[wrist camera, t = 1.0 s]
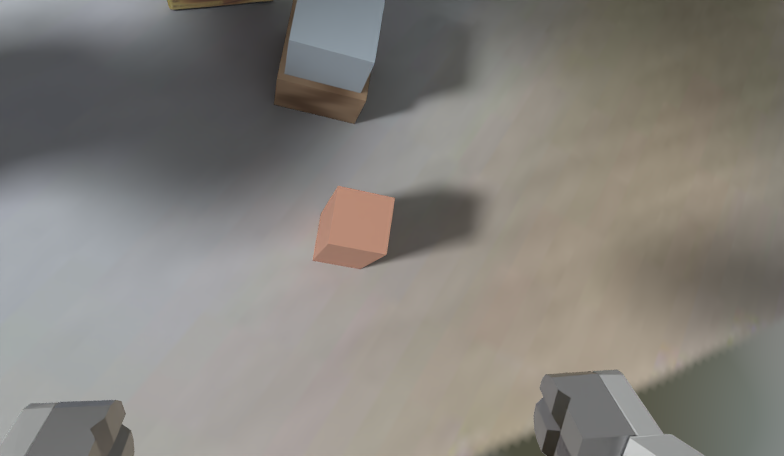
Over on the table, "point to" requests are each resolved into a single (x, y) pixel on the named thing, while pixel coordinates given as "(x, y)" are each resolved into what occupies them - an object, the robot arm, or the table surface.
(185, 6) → the candy box
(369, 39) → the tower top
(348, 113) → the tower base
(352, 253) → the post
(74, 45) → the table surface
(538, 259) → the table surface
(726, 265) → the table surface
